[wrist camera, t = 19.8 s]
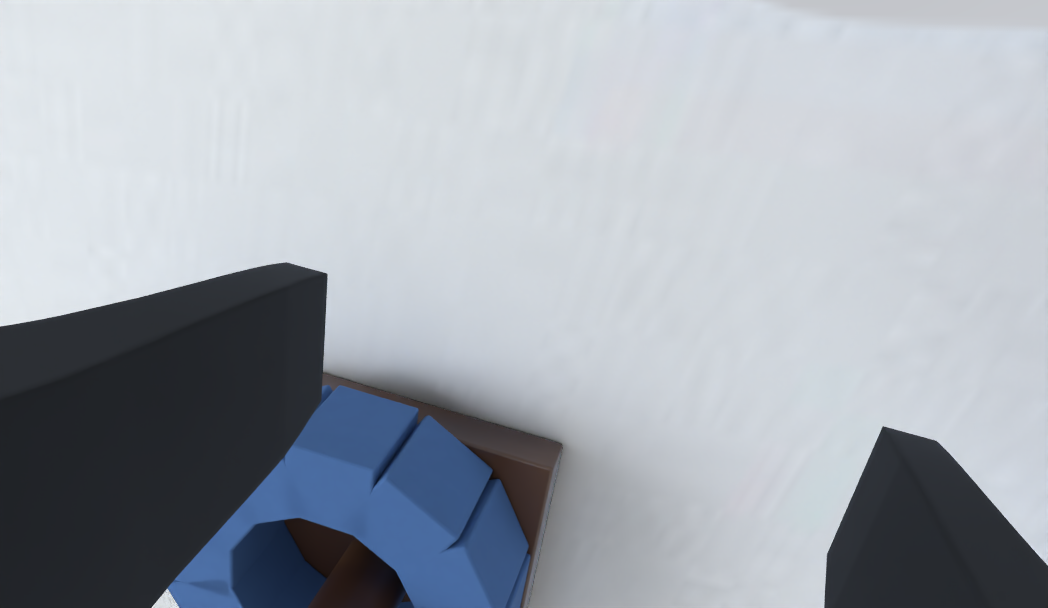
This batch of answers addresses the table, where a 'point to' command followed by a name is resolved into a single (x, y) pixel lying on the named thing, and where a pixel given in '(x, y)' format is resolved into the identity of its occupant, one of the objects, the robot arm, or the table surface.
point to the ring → (369, 515)
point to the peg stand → (516, 459)
